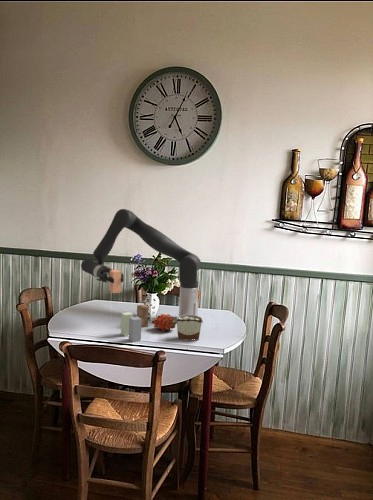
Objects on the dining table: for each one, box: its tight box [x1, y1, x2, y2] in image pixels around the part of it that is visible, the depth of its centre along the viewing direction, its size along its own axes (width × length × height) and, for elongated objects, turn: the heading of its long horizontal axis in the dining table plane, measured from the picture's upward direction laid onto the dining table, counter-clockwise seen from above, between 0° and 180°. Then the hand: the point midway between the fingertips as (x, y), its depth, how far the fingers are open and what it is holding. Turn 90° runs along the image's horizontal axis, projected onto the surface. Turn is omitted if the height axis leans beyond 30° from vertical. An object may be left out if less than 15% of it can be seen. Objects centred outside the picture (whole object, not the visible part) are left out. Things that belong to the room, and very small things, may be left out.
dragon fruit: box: [151, 313, 177, 332], centre depth 219 cm, size 8×8×12 cm
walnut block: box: [136, 304, 149, 329], centre depth 223 cm, size 4×4×10 cm
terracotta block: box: [109, 269, 122, 294], centre depth 218 cm, size 4×4×10 cm
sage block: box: [120, 311, 134, 337], centre depth 210 cm, size 4×4×10 cm
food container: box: [175, 315, 204, 341], centre depth 210 cm, size 12×6×10 cm, turn 92°
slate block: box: [128, 316, 142, 343], centre depth 203 cm, size 4×4×10 cm
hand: (117, 280), depth 216 cm, fingers closed on terracotta block, 4 cm apart
